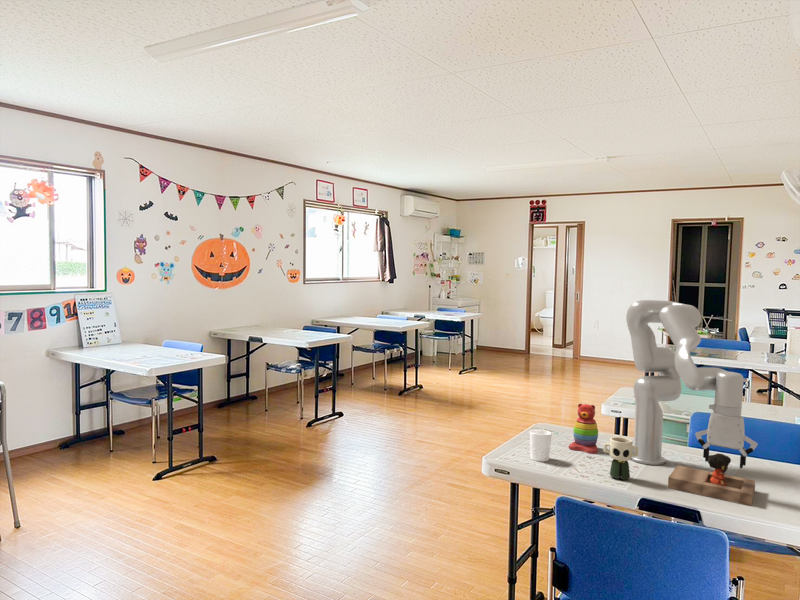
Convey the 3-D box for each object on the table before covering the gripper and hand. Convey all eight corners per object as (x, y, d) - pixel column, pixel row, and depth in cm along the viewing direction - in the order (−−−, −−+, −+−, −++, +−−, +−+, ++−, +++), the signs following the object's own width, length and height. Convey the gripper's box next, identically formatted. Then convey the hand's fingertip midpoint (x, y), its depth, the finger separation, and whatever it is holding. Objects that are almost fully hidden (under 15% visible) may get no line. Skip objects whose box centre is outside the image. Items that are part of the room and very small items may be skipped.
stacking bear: (567, 449, 224) (568, 404, 224) (575, 443, 233) (577, 400, 232) (594, 454, 218) (596, 408, 218) (602, 448, 227) (604, 404, 226)
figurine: (721, 495, 178) (723, 457, 178) (704, 489, 183) (706, 453, 183) (732, 492, 181) (734, 455, 181) (715, 487, 186) (717, 450, 186)
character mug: (602, 478, 190) (604, 440, 190) (602, 472, 197) (603, 435, 197) (637, 483, 187) (639, 444, 186) (636, 476, 194) (637, 438, 193)
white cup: (526, 460, 208) (528, 433, 208) (530, 454, 215) (531, 428, 215) (549, 463, 205) (550, 436, 205) (551, 457, 212) (552, 431, 212)
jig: (667, 488, 183) (668, 477, 183) (676, 475, 196) (677, 465, 196) (751, 506, 170) (752, 494, 170) (754, 491, 183) (755, 480, 183)
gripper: (695, 408, 183) (691, 460, 183) (758, 418, 173) (754, 473, 173) (698, 404, 189) (695, 455, 190) (760, 413, 179) (756, 467, 180)
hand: (723, 463), depth 182 cm, fingers open, 9 cm apart
